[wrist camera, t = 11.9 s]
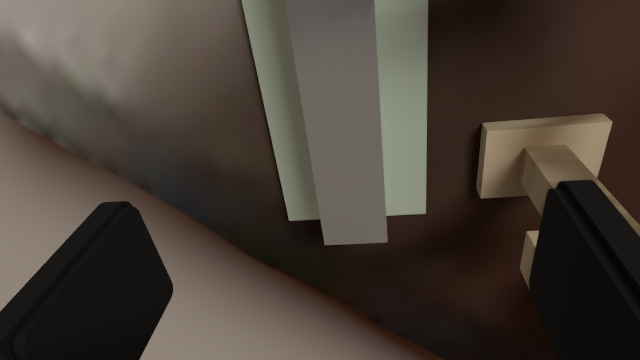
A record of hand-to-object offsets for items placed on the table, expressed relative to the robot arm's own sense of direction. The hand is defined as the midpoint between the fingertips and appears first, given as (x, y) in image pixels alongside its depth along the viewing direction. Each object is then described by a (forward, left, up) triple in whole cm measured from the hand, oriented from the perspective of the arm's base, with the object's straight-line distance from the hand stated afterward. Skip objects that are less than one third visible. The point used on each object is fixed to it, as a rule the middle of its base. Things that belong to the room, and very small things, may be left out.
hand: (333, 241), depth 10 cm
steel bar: (0, 0, -16) cm, 16 cm away
